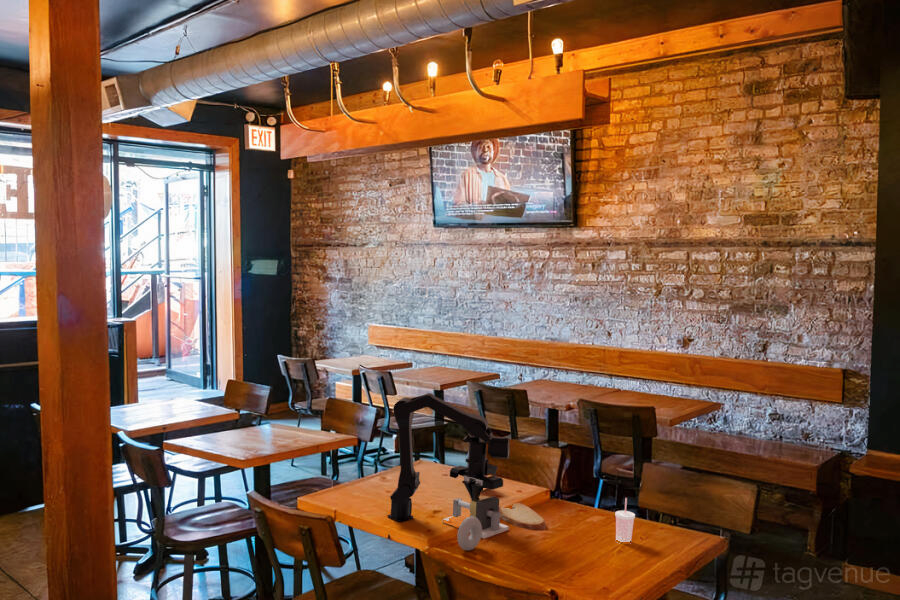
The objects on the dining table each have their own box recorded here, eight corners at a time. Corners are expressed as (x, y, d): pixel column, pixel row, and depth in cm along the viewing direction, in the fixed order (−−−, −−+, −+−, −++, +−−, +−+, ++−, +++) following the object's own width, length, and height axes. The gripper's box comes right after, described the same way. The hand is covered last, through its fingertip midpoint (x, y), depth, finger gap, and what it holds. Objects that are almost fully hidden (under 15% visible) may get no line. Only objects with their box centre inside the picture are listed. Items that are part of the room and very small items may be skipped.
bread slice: (545, 532, 245) (546, 521, 245) (490, 525, 250) (491, 514, 249) (551, 514, 263) (551, 504, 263) (500, 508, 267) (500, 497, 267)
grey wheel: (474, 543, 231) (476, 511, 231) (483, 547, 229) (485, 514, 229) (453, 552, 224) (455, 519, 223) (463, 556, 221) (464, 522, 221)
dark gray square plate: (481, 529, 239) (482, 503, 239) (475, 527, 241) (476, 501, 241) (498, 523, 245) (499, 498, 245) (492, 521, 247) (493, 496, 247)
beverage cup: (619, 545, 236) (622, 501, 235) (610, 538, 241) (612, 495, 241) (637, 544, 237) (639, 500, 236) (627, 537, 243) (630, 494, 242)
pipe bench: (484, 538, 236) (485, 517, 236) (442, 522, 248) (443, 502, 248) (508, 529, 245) (509, 509, 244) (466, 514, 257) (467, 495, 257)
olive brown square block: (476, 525, 241) (477, 502, 241) (469, 522, 244) (470, 500, 243) (491, 520, 247) (492, 498, 246) (484, 517, 249) (485, 496, 248)
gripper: (515, 458, 245) (512, 505, 246) (472, 446, 258) (469, 491, 259) (493, 463, 237) (490, 512, 238) (449, 451, 250) (447, 498, 251)
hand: (474, 503), depth 247 cm, fingers closed
